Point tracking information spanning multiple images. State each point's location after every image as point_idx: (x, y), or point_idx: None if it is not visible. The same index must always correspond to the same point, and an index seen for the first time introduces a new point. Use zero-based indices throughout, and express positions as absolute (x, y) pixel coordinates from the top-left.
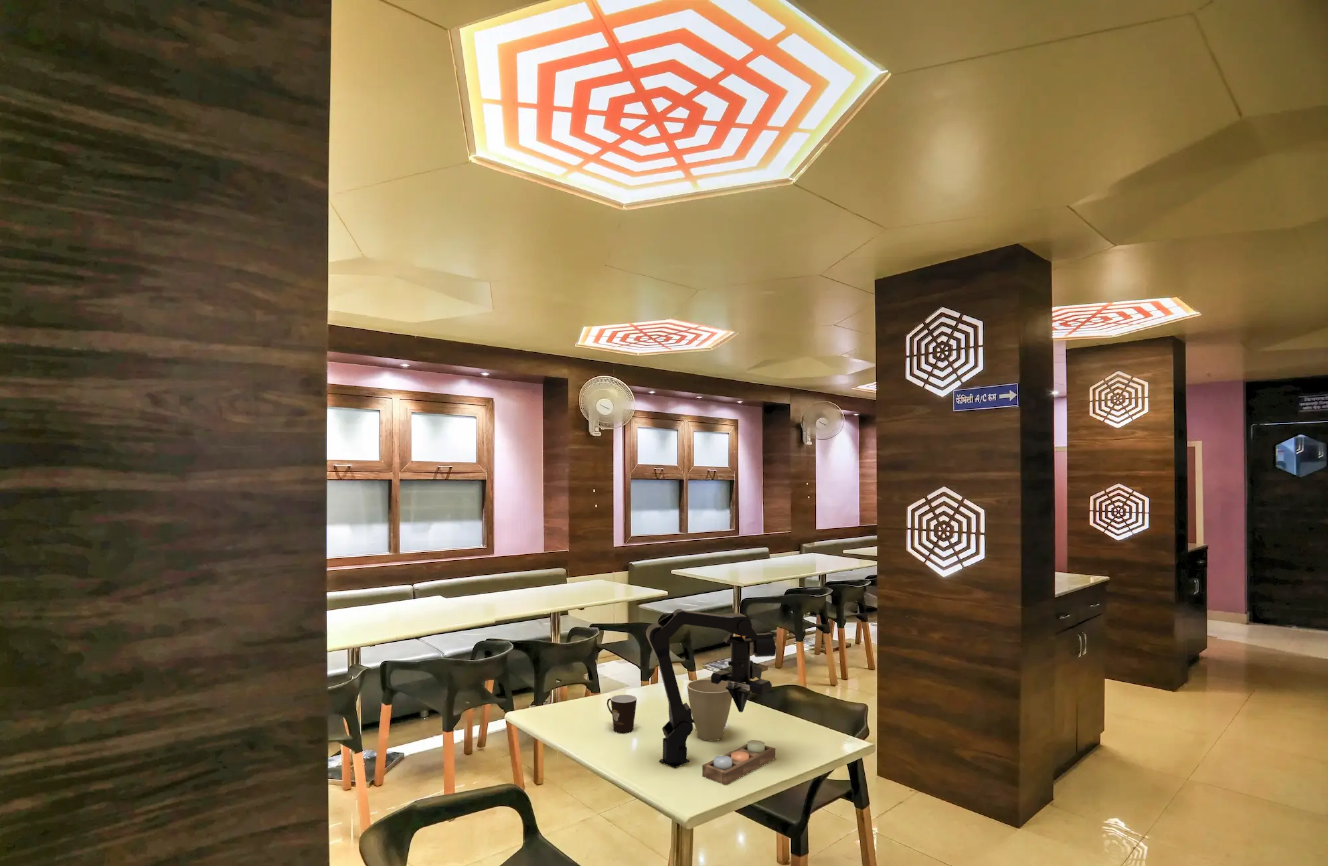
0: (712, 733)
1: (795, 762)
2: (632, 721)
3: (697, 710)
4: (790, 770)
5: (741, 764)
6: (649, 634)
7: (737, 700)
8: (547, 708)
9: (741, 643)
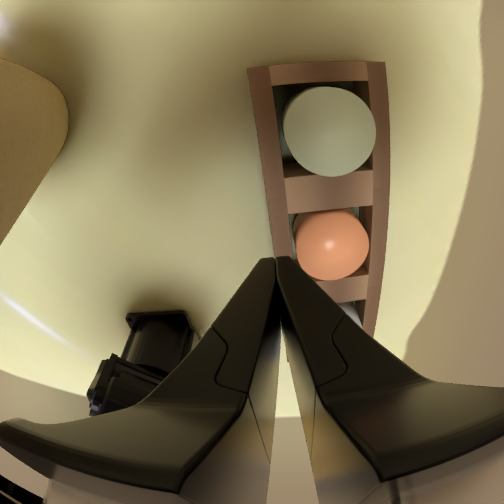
0: (57, 152)
1: (432, 44)
2: None
3: None
4: (456, 119)
5: (376, 288)
6: None
7: (274, 395)
8: None
9: None
